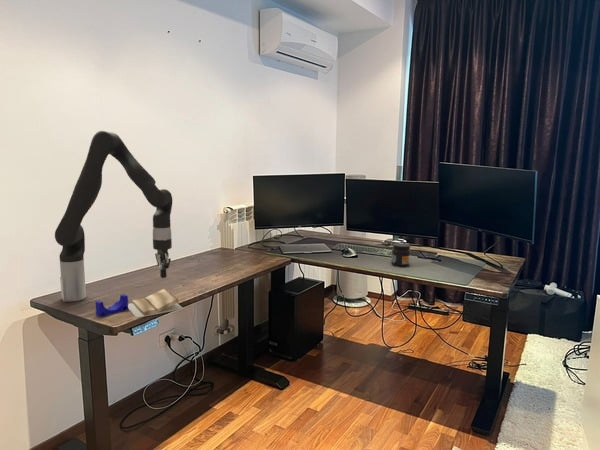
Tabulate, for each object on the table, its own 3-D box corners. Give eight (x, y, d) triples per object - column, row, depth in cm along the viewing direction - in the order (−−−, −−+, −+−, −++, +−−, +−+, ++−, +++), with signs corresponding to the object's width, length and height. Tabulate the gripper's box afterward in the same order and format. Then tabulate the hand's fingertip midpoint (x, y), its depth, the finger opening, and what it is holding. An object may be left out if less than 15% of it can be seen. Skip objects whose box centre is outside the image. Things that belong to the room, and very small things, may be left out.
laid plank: (143, 315, 183) (143, 311, 183) (132, 303, 196) (132, 300, 196) (156, 313, 186) (156, 309, 186) (144, 301, 199) (144, 297, 199)
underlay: (136, 318, 181) (136, 317, 181) (124, 305, 195) (124, 304, 195) (183, 309, 192) (183, 308, 192) (169, 297, 206) (169, 296, 206)
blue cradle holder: (122, 307, 193) (121, 293, 192) (128, 309, 191) (127, 295, 190) (94, 314, 184) (93, 300, 183) (100, 317, 181) (99, 303, 180)
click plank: (158, 312, 186) (157, 308, 186) (146, 300, 199) (145, 297, 199) (179, 301, 191) (177, 298, 190) (165, 291, 204) (164, 288, 203)
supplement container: (413, 266, 265) (414, 246, 263) (398, 268, 261) (399, 247, 259) (402, 262, 275) (403, 242, 273) (387, 263, 271) (388, 243, 269)
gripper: (148, 235, 198) (149, 274, 201) (158, 241, 187) (159, 282, 190) (165, 233, 202) (166, 272, 205) (176, 239, 192) (177, 280, 195)
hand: (163, 277), depth 198 cm, fingers closed
